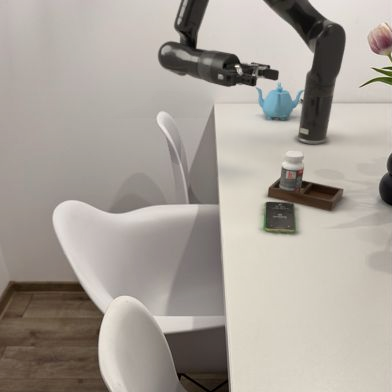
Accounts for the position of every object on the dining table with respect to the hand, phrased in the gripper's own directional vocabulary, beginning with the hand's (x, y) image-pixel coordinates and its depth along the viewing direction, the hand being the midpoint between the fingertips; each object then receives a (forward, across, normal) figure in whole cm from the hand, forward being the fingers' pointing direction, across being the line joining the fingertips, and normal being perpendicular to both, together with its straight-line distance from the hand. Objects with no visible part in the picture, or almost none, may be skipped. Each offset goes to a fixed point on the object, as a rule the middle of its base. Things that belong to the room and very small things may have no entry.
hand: (267, 78), depth 118 cm
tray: (+15, +1, +26) cm, 30 cm away
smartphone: (+18, -14, +26) cm, 34 cm away
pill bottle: (+11, 0, +26) cm, 28 cm away
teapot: (-34, +52, +26) cm, 67 cm away
